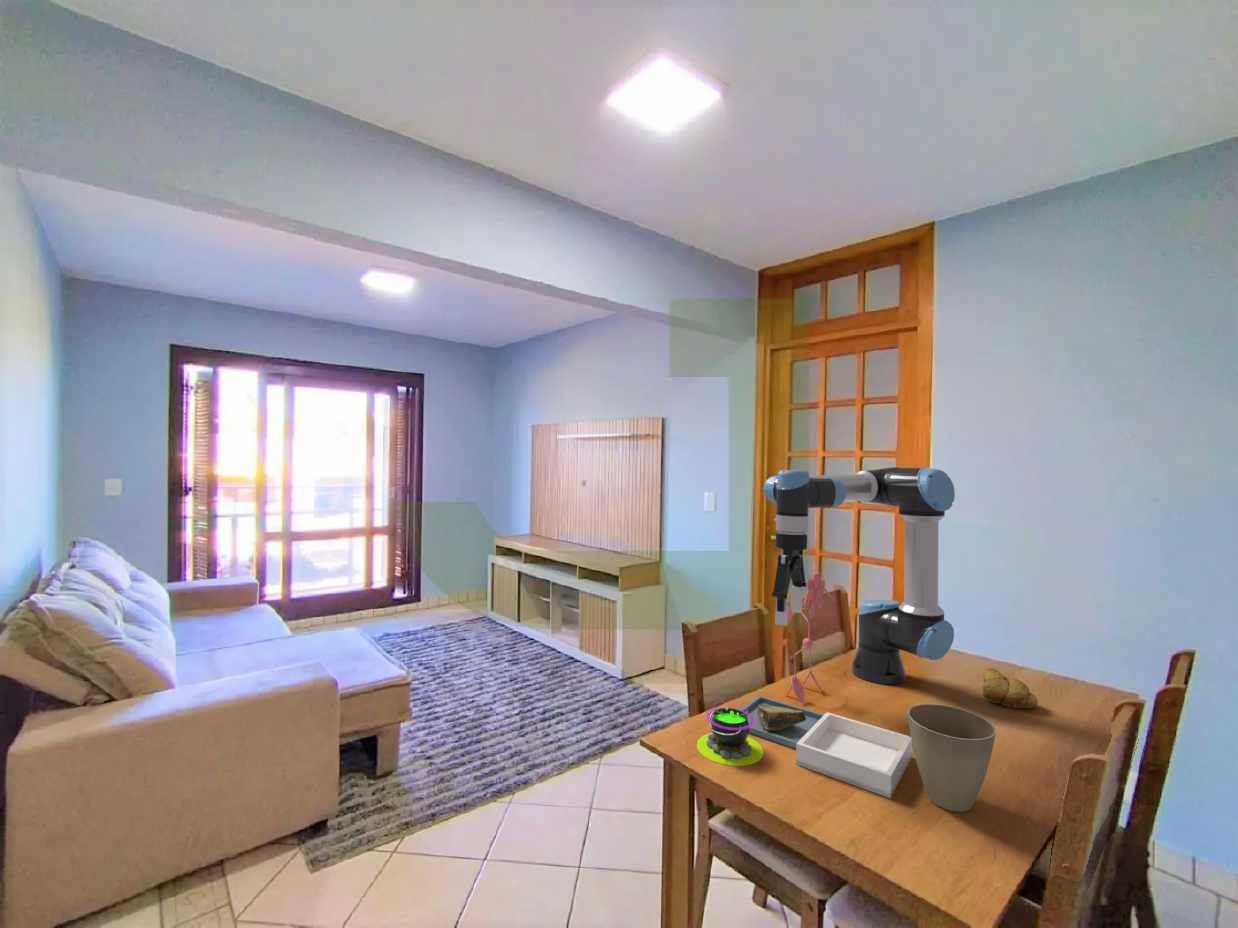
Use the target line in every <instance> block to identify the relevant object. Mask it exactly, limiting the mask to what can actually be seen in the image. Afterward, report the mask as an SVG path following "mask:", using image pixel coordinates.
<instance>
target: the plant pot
mask: <svg viewBox="0 0 1238 928" xmlns="http://www.w3.org/2000/svg"><path fill="white" fill-rule="evenodd" d="M907 719H908V720H907V721H908V726H909V727H908V728H909V733H910V737H911V740H912V751H913V753H914V757H915V761H916V765H917V768H918V771H919V775H920V778H921V781H922V784H923V787H924V789H925V792H926V794H927V798H928V799H929V800H930V801H931V802H932V803H933V804H935V805H936V806H938V807H940V808H942V809H944V810H947V811H949V812H956V813H964V812H967V811H970V810H971V809H972V807H973V804H974V803H975V801H976V799H977V797H978V796H979V795H978V794H980V793H979V792H980V790H981V788H982V785H983V784H984V781H985V778H986V774H987V771H988V768H989V765H990V761H991V758H992V753H993V749H994V744H995V741H996V740H995V738H996V734H997V730H996V727H995V725H994V724H992V723H991V722H990V721H988V720H987V719H986V718H985V717H982V716H980V715H979V714H976V713H974V712H972V711H969V710H967V709H963V708H960V707H956V706H950V705H946V704H939V703H938V704H937V703H920V704H915V705H912V706H910V707H909V708H908V710H907Z"/></svg>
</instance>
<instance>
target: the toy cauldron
mask: <svg viewBox="0 0 1238 928" xmlns="http://www.w3.org/2000/svg"><path fill="white" fill-rule="evenodd" d="M735 700H737V701H736V704H741V705H742V706H743V707H744V706H745V705H746V704H744V703H741V700H739V699H738V698H736V697H735ZM721 702H722V703H723V704H726V701H724V700H720V703H721ZM718 703H719V701H716V702H715V703H714V704H713V706H712V708H711V709H710V710H707V711H706V712H705V714H704V717H705V720H706V721H708V723H709V727H710V730H711V732H710V733H705V734H703V735H702V736H700V737H699V739H698V740H697V742H696V748H697V749H696V750H698V753H700V754H701V755H702V756H703V757H704V758H706V759H708V760H709V761H710V762H711V761H712V762H714V763H717V764H721V765H725V766H732V767H743V766H749V765H754V764H755V763H757V762H759V761H760V760H762V758H763V756H764V749H763V748H762V746H761V745H760V743H759V742H758V741H756V740H755V739H753V738H751V737H750V736H749V728H750V726H754V724H753V723H755V722H756V720H755V719H753V718H754V716H753V715H752V716H753V717H750V719H751V721H752V720H753V721H752V724H750V723H751V722H750V723H748V719H747V713H748V712H746V711H742V710H740V709H741V707H740V705H738V707H740V709H739V708H737V707H731V706H728V707H727V706H724V707H723V706H721V707H715V705H716V704H718ZM746 709H748V708H747V707H746ZM739 710H740V711H739ZM747 711H748V710H747ZM745 713H746V714H745ZM748 716H751V714H749V715H748ZM754 720H755V722H754ZM751 728H752V727H751Z"/></svg>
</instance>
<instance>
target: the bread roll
mask: <svg viewBox="0 0 1238 928" xmlns="http://www.w3.org/2000/svg"><path fill="white" fill-rule="evenodd" d="M982 678H983V680H982V681H983V682H984V683H982V696H983V697H984V699H986V700H987V701H988V702H990V703H993V704H1001V705H1002V706H1006V707H1008V708H1017V709H1019V708H1022V709H1033V708H1035V707H1037V706H1038V703H1039V701H1038V698H1037V697H1036V696H1035V695H1034V693H1031V691H1030V689H1029V688H1030V687H1029V686H1028V685H1026V683H1024V682H1023V681H1021V680H1019V679H1016V678H1014V677H1011V678H1009V677H1006V676H1005V675H1003V674H1002V673H1001V672H1000V671H999V670H997V669H995V668H989V667H988V668H986V669H985V670H984V672H983V674H982Z"/></svg>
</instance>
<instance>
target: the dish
mask: <svg viewBox="0 0 1238 928" xmlns="http://www.w3.org/2000/svg"><path fill="white" fill-rule="evenodd" d="M823 714H824V715H823V716H822V718H821V719H820V720H819V721H818V722H817V723H816V724H815V725H814V726H813V727H812V728H811V729H810V730H809V731H808V732H807V733H806V734H805V735H804V736H803V737H802V738H801V739H800V740H799V741H798V742H797V743H796V750H795V751H796V752H795V765H797V766H800V767H802V768H805V769H808V770H811V771H813V772H816V773H819V774H822V775H824V776H827V777H831V778H833V779H836V780H839V781H842V782H845V783H847V784H850V785H851V786H855V787H857V788H858V787H859V788H861V789H863V790H866V791H869V792H871V793H872V792H873V793H875V794H877V795H880V796H883V797H886V798H888V799H892V796H893V794H894V793H895V791H896V789H897V786H898V785H899V783H900V781H901V780H902V777H903V775H904V773H905V772H906V770H907V767H908V766H909V764H910V763H911V762H910V761H911V760H912V758H913V745H912V740H911V735H910V736H909V735H906V734H903V733H899V732H897V731H893V730H889V729H886V728H883V727H879V726H875V725H871V724H869V723H865V722H862V721H858V720H855V719H853V718H852V719H851V718H848V717H844V716H842V715H838V714H834V713H831V712H828V711H826V712H825V713H823Z"/></svg>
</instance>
